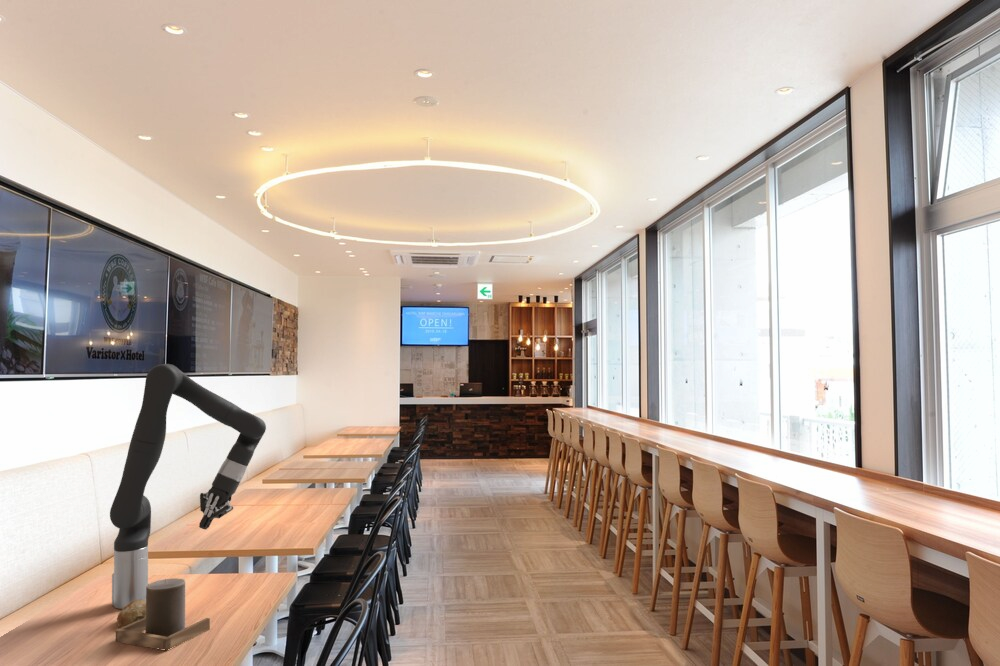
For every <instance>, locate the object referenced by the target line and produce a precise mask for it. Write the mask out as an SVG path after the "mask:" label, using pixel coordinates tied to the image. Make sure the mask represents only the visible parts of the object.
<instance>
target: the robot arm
mask: <svg viewBox="0 0 1000 666" xmlns="http://www.w3.org/2000/svg"><path fill="white" fill-rule="evenodd" d="M173 395H175V396H177V397H179V398H182V399H183V400H185V401H187V402H189V403H190V404H192V405H193V406H195V407H196V408H198V410H200V411H201V412H202V413H204V414H205V415H207V416H208V417H210V418H212V419H214V420H216V421H217V422H219V423H221V424H223V425H224V426H228V427H230V428H231V429H233V430H235V431H237V432H238V433H239V435H238V436H237V439H236V441H235V443H234V444H233V445H232V446H231V449H230V450H229V452H228V454H227V456H226V458H225V460H224V461H223V462H222V464H221V466H220V468H219V470H218V472H217V473H216V476H215V477H214V479H213V481H212V483H211V488H210V489H208V491H207V492H205V493H203V492H200V494H199V502H200V503H199V504H200V506H199V508H200V511H201V512H202V513H203V516H202V518H201V519H200V522H199V524H198V525H199V526H198V527H199V528H200V529H202V530H204V531H205V530H208V529H209V527H210V526H211V524H212V522H213V520H214V519H221V518H222V517H224V516H225V515H227V514H228V513H230V512H231V511H233V510H234V506H233V505H232V504H231V501H232V496H233V495H234V494H235V493H236V491H237V489H238V487H239V485H240V484H241V481H242V479H244V476H245V474H246V470H247V467H249V464H250V462H251V460H252V459H253V458H252V457H253V455H254V453H255V451H256V448H257V446H258V445H259V443H260V441H261V439H262V438H263V436H264V434H265V433H266V430H267V426H266V422H265V421H264V420H263V419H262V418H261V417H258V416H256V415H254V414H252V413H250V412H248V411H246V410H244V409H242V408H241V407H239V406H238V405H236V404H235V403H233V402H231V401H230V400H227V399H226V398H224V397H223V396H220V395H218V394H216V393H214V392H213V391H210V390H208V389H207V388H206V387H203V385H201V384H199V383H197V382H196V381H194V380H193V379H191V377H189V376H188V375H187V374H186V373H184V372H183V371H182V370H181V369H179V368H178V367H177V366H176V365H174V364H170V363H163V364H162V363H161V364H158V365H155V366H154V367H151V368H150V369H149V371H148V372H147V374H146V377H145V384H144V390H143V398H142V403H141V408H140V411H139V413H138V417H137V419H136V422H135V426H134V429H133V432H132V435H131V438H130V443H129V446H128V451H127V457H126V459H125V463H124V467H123V471H122V476H121V479H120V483H119V486H118V488H117V491H116V495H115V497H114V499H113V501H112V504H111V508H110V510H109V519H110V521H111V523H112V524H113V525H112V526H114V527H116V528H117V529H119V531H118V533H117V536H116V538H115V539H114V542H113V573H112V574H111V605H112V606H114V608H115V609H119V610H120V609H121V610H122V609H123V608H124V607H125V606H126V605H128V604H129V603H131V602H132V601H135V600H146V586H147V585H148V584H149V538H150V535H151V528H152V527H151V526H152V525H151V523H152V508H151V503H150V501H149V499H148V497H147V496H146V495H145V494H144V493H145V489H146V486H147V483H148V481H149V480H150V478H151V475H152V474H153V472H154V470H155V468H156V467H157V464H158V462H159V460H160V458H161V456H162V452H163V449H164V444H165V441H166V435H167V413H168V409H169V405H170V402H171V399H172V396H173Z"/></svg>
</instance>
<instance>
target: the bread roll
mask: <svg viewBox="0 0 1000 666" xmlns="http://www.w3.org/2000/svg"><path fill="white" fill-rule="evenodd" d="M145 617H146V600H135V601H132V602H131V603H129V604H128V605H126V606H125V607H124V608H123V609H121V610H120V612H119V613H118V615H117V618H116V620H117V623H116V624H117V625H118V627H120V628H121V627H124V626H127V625H129V624H131V623H133V622H136V621H138V620H140V619H143V618H145Z"/></svg>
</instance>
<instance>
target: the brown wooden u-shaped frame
mask: <svg viewBox="0 0 1000 666" xmlns="http://www.w3.org/2000/svg"><path fill="white" fill-rule="evenodd" d="M210 621H211V619H210V617H205V618H202V619H201V620H199V621H197V622H195V623H193V624H191V625H189V626H186V627H185V629H182V630H180V631H178V632H176V633H174V634H172V635H170V636H168V637H165V636H160V635H154V634H148V633H145V632H144V630H145V631H146V617H145V618H143V619H140V620H138V621H136V622H133V623H131V624H129V625H127V626H124V627H122V628H121V627H120V628H118V629H115V642H116V643H122V644H126V645H131V644H132V646H136V645H138V647H142V646H143V647H142V648H147V647H152V648H159V649H165V650H168V649H170V648H172V647H174V646H176V647H178V646H180V645H182V644H183V642H184V643H186V642H188V641H190V640H192V639H194V638H196V637H198V636H200V635H201V633H202V634H203V632H204V633H205V632H207V631H209V630H211V625H210V624H211V622H210ZM199 634H200V635H199ZM195 636H196V637H195ZM193 637H194V638H193ZM191 638H192V639H191ZM189 639H190V640H189ZM187 640H188V641H187ZM185 641H186V642H185ZM181 643H182V644H181ZM179 644H180V645H179ZM177 645H178V646H177ZM152 648H151V649H152ZM174 648H175V647H174ZM172 649H173V648H172ZM170 650H171V649H170ZM168 651H169V650H168Z"/></svg>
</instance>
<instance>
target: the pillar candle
mask: <svg viewBox="0 0 1000 666" xmlns="http://www.w3.org/2000/svg"><path fill="white" fill-rule="evenodd" d="M185 628H186V580H185V579H184V578H173V577H172V578H165V579H158V580H155V581H152V582H150V583H148V585H147V586H146V630H145V632H144V633H148V634H154V635H160V636H165V637H168V636H170V635H172V634H174V633H176V632H178V631H180V630H182V629H185Z"/></svg>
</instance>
